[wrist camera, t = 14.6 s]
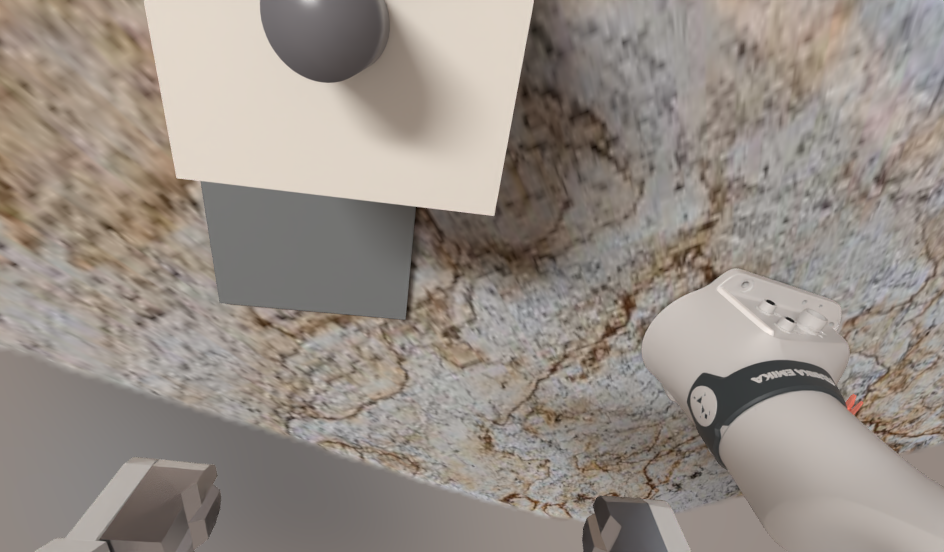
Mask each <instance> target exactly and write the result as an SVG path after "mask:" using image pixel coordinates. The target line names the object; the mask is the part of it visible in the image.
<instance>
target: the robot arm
mask: <svg viewBox="0 0 944 552" xmlns="http://www.w3.org/2000/svg"><path fill="white" fill-rule="evenodd" d="M743 282H744V283H743ZM742 283H743V284H742ZM840 320H841V306H840V305H839V304H838V303H837V302H836V301H834V300H832V299H829V298H826V297H824V296H821V295H818V294H814V293H811V292H808V291H805V290H802V289H799V288H796V287H793V286H790V285H787V284H784V283H781V282H778V281H775V280H772V279H769V278H766V277H763V276H760V275H757V274H754V273H751V272H748V271H745V270H742V269H738V268H735V269H731V270H729V271H727V272H725V273H724V274H722V275H721V276H719V277H718V278H717V279H716V280H714V281H713V282H712V283H711V284H709V285H708V286H706V287H704V288H701V289H699V290H696V291H694V292H691V293H689V294H687V295H684V296H683V297H681V298H679V299H677V300H676V301H674V302H673V303H671V304H670V305H668V306H667V307H666V308H665V309H664V310H662V311H661V312H660V313H659V314H658V315H657V317H656V318H655V319H654V320H653V321H652V323H651V324H650V326H649V327H648V329H647V331H646V333H645V336H644V339H643V342H642V358H643V362H644V364H645V366H646V368H647V369H648V370H649V372H650V373H651V374H653V375H654V376H655V377H656V378H657V379H658V380H659V381H660V382H661V383H662V385H663V388H664V391H665V393H666V394H667V396H668V397H669V398H670V399H671V400H672V401H674V402H677V403H678V405H679V406H680V407H681V408H682V410H683V411H684V412H685V414H686V415H687V416H688V417H689V419H690V420H691V421H692V422H693V424H694V425H695V426H696V428H697V430H698V433H699V434H700V436H701V437H702V439H703V441H704V442H705V444H706V446H707V447H708V450H709V452H710V453H711V455H712V456H714V457H715V459H716V460H717V462H718V463H719V464H720V465H721V466H722V467H723V468H725V469H726V470H728V471H729V473H730V474H731V476H732V478H733V479H734V481H735V482H736V484H737V485H738V487H739V489H740V490H741V492H742V493H743V495H744V497H745V498H746V500H747V501H748V503H749V505H750V506H751V508H752V509H753V511H754V512H755V514H756V516H757V517H758V519H759V520H760V522H761V524H762V525H763V527H764V528H765V530H766V531H767V533H768V534H769V535H770V536H771V537H772V539H773V540H774V541H775V542H776V543H777V544H779V545H780V546H781V547H782V548H784V549H785V550H786V551H788V552H944V487H943V486H942V485H940V484H938V483H937V482H935V481H934V480H932V479H930V478H929V477H927V476H926V475H924V474H923V473H922V472H920V471H919V470H918V469H916V468H915V467H914V466H912V465H911V464H910V463H909V462H907V461H906V460H905V459H903V458H902V457H901V456H900V455H899V454H897V453H896V452H895V451H894V450H893V449H891V448H890V447H889V446H888V445H887V444H885V443H884V442H883V441H882V440H881V439H880V438H878V437H877V436H876V435H875V434H874V433H873V432H872V431H870V430H869V429H868V428H867V427H866V426H865V425H864V424H863V423H862V422H861V421H859V420H858V419H857V418H856V417H855V416H854V415H855V413H856V412H857V411H858V410H859V408H860V407H861V406H862V404H863V402H862V401H860V402H859V403H858V404H857V405H856V406H855V407H854V408H853V409H852V410H851V408H852V407H853V405H854V402H855V399H856V395H854V394H853V395H851V396H850V397H849V399H848V400H847V401H846V403H845V401H844V399H843V397H842V395H841V393H840V391H839V389H838V387H837V384H838V382H839V380H840V378H841V377H842V375H843V373H844V371H845V369H846V367H847V364H848V361H849V356H850V350H849V346H848V343H847V342H846V340H845V339H844V338H843V337H842V336H841V335H840V334H839V333H837V330H838V327H839V324H840ZM216 477H217V471H216V467H215V465H211V464H201V463H191V462H180V461H171V460H162V459H151V458H139V457H133V458H132V459H130V460H129V461H128V462H126V463H125V464H124V465H123V466H122V467H121V468H120V470H119V471H118V472H117V473H116V475H115V476H114V477H113V478H112V480H111V481H110V482H109V483H108V485H107V486H106V487H105V489H104V490H103V491H102V492H101V494H100V495H99V496H98V497H97V499H96V500H95V501H94V502H93V504H92V505H91V506H90V508H89V509H88V510H87V511H86V512H85V514H84V515H83V516H82V518H81V519H80V520H79V521H78V523H77V524H76V525H75V526H74V528H73V529H72V530H71V531H70V533H69V534H68V535H67V537H66V538H55V539H54V540H52V541H51V542H49V543H47V544H46V545H44V546H43V547H41V548H39V549H38V550H36V551H34V552H195V551H194V550H195V549H196V548H197V547H198V546H200V545H201V544H203V543H204V542H205V541H206V540H208V539H209V537H210V534H211V532H212V530H213V528H214V526H215V524H216V521H217V517H218V514H219V511H220V505H221V493H220V489H218V488H217V487H216V486H215V485H214V484H213V483H214V481H215V479H216ZM593 508H594V512H595V513H594V514H593V515H591V516H589V517H588V518H587V519H586V522H585V524H584V527H583V537H582V542H583V552H691V550H690V548H689V546H688V543H687V541H686V539H685V537H684V535H683V532H682V530H681V528H680V526H679V524H678V522H677V519H676V517H675V515H674V513H673V510H672V508H671V506H670V505H669V504H668V503H667V502H666V501H662V500H648V499H641V498H630V497H614V496H599V497H597V498H596V499H595V502H594V504H593Z"/></svg>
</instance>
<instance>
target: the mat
mask: <svg viewBox="0 0 944 552" xmlns="http://www.w3.org/2000/svg"><path fill="white" fill-rule="evenodd" d="M201 187H202V194H203V200H204V206H205V213H206V219H207V225H208V232H209V238H210V244H211V251H212V257H213V263H214V270H215V276H216V283H217V289H218V295H219V302H220V303H225V304H237V305H248V306H259V307H270V308H281V309H293V310H304V311H315V312H326V313H337V314H348V315H360V316H371V317H382V318H393V319H404V320H405V319H406V310H407V299H408V288H409V277H410V266H411V255H412V244H413V233H414V222H415V211H416V207H415V206H406V205H398V204H390V203H381V202H373V201H365V200H356V199H348V198H339V197H331V196H323V195H314V194H306V193H298V192H289V191H281V190H272V189H264V188H256V187H247V186H239V185H231V184H222V183H214V182H205V181H201Z"/></svg>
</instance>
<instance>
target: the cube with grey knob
mask: <svg viewBox="0 0 944 552" xmlns="http://www.w3.org/2000/svg"><path fill="white" fill-rule="evenodd" d="M533 3H534V0H144V4H145V10H146V15H147V21H148V26H149V31H150V37H151V42H152V48H153V53H154V58H155V64H156V69H157V75H158V80H159V85H160V91H161V96H162V102H163V107H164V112H165V118H166V123H167V129H168V134H169V139H170V145H171V150H172V156H173V161H174V166H175V172H176V177H177V178H180V179H189V180H197V181H205V182H214V183H222V184H231V185H239V186H247V187H256V188H264V189H272V190H281V191H289V192H298V193H306V194H314V195H323V196H331V197H339V198H348V199H356V200H365V201H373V202H381V203H390V204H398V205H406V206H415V207H423V208H431V209H440V210H448V211H457V212H465V213H473V214H482V215H490V216H494V214H495V209H496V203H497V198H498V193H499V187H500V182H501V176H502V171H503V166H504V160H505V155H506V149H507V144H508V139H509V133H510V128H511V122H512V117H513V111H514V106H515V101H516V95H517V90H518V84H519V79H520V74H521V68H522V63H523V57H524V52H525V47H526V41H527V36H528V30H529V25H530V20H531V14H532V9H533Z"/></svg>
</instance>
